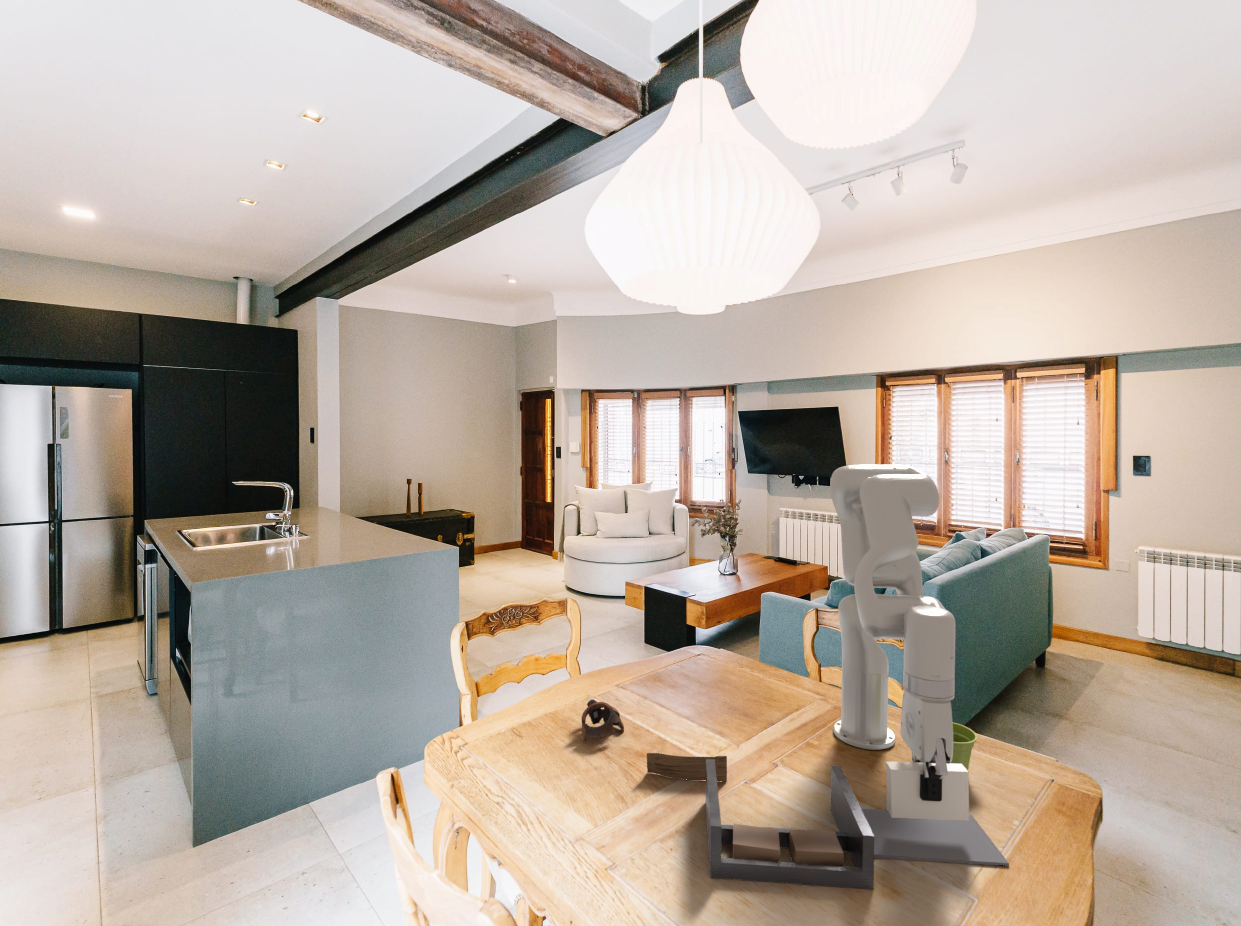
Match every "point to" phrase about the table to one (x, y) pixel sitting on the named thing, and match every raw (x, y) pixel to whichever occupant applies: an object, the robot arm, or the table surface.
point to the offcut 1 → (755, 843)
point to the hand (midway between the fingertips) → (926, 793)
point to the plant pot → (962, 744)
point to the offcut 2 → (815, 847)
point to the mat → (931, 839)
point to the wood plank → (685, 766)
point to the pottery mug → (596, 714)
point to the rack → (851, 837)
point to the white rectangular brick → (907, 792)
